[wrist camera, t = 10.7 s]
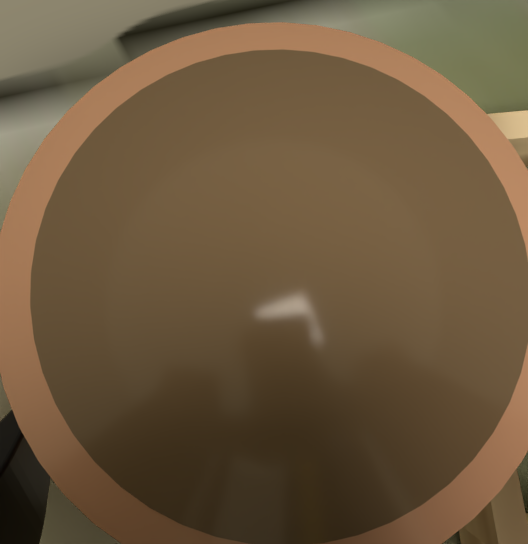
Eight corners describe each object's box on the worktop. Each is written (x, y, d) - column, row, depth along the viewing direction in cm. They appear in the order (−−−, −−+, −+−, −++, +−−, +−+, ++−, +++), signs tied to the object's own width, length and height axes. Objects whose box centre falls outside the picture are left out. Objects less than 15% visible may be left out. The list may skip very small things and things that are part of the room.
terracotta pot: (171, 447, 17) (-7, 649, 5) (154, 254, 18) (-24, 38, 6) (366, 419, 17) (640, 543, 5) (335, 233, 18) (503, -7, 7)
